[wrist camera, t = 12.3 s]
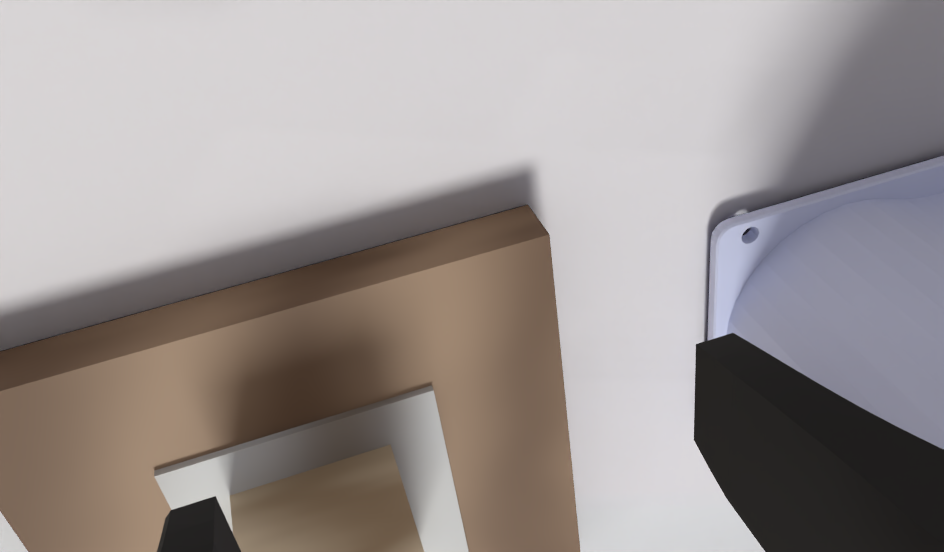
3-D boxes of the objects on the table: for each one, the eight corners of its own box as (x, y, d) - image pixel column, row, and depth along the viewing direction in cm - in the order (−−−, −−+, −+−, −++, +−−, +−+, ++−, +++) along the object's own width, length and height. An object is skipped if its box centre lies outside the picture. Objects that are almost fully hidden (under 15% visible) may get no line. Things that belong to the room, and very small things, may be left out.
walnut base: (527, 204, 22) (552, 239, 21) (566, 549, 30) (585, 590, 29) (-56, 367, 20) (-72, 417, 18) (156, 692, 28) (156, 743, 27)
